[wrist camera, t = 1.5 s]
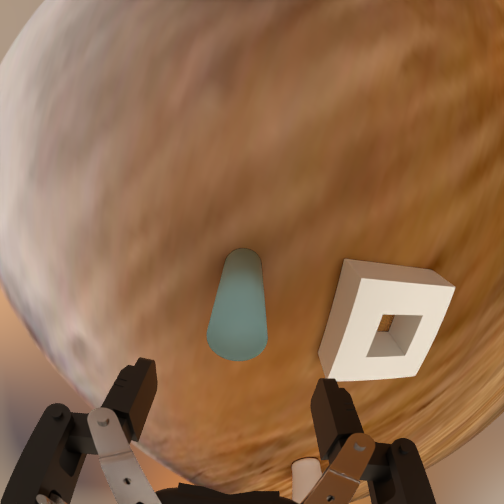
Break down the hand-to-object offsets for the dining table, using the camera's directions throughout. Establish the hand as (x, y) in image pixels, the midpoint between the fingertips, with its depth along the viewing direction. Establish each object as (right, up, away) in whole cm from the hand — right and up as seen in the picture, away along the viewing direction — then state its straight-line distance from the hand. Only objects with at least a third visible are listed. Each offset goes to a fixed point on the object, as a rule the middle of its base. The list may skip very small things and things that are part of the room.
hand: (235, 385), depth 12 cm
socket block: (+15, -1, +17) cm, 23 cm away
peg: (0, +5, +15) cm, 16 cm away
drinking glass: (+11, -34, +28) cm, 45 cm away
